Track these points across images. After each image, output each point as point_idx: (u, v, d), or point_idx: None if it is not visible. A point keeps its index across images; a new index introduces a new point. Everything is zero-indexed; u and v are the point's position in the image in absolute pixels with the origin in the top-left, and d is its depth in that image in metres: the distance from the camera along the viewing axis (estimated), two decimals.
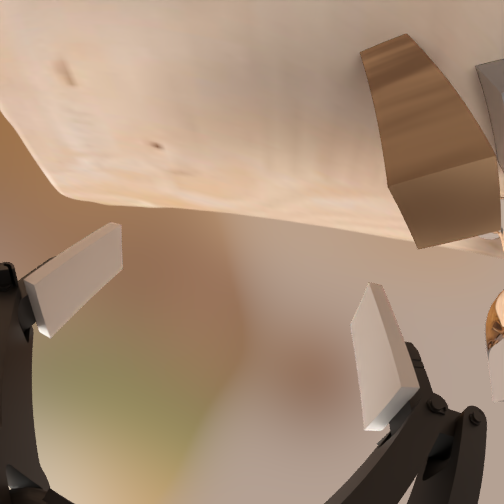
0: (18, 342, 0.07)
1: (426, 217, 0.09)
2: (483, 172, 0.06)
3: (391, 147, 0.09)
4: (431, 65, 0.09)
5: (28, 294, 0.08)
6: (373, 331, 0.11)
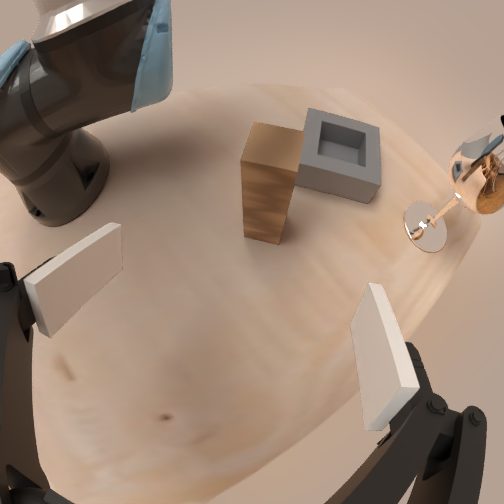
0: (18, 342, 0.07)
1: (271, 156, 0.19)
2: (259, 128, 0.20)
3: None
4: None
5: (28, 294, 0.08)
6: (372, 331, 0.11)
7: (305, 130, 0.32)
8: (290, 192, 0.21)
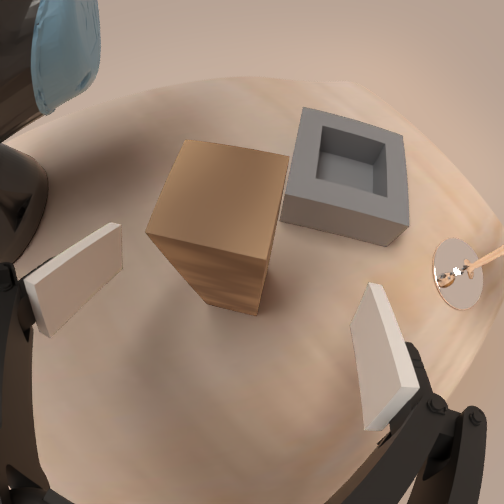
0: (18, 342, 0.07)
1: (209, 221, 0.09)
2: (194, 152, 0.10)
3: None
4: None
5: (28, 294, 0.08)
6: (372, 331, 0.11)
7: (298, 140, 0.22)
8: (259, 281, 0.11)
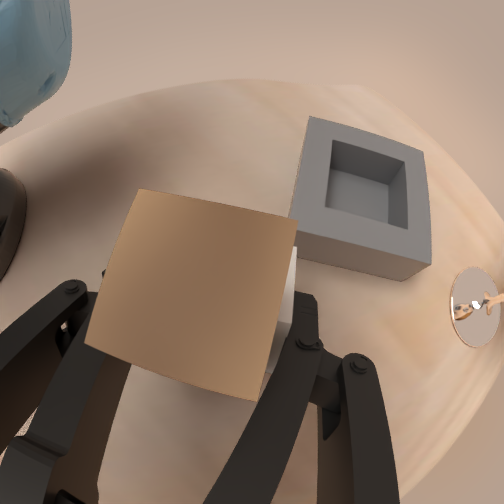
0: None
1: (171, 337, 0.05)
2: (150, 211, 0.06)
3: None
4: None
5: None
6: None
7: (303, 158, 0.18)
8: None
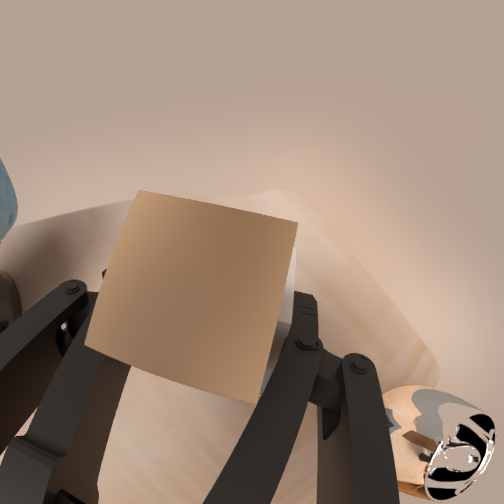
0: None
1: (171, 339, 0.05)
2: (149, 213, 0.06)
3: None
4: None
5: None
6: None
7: None
8: None
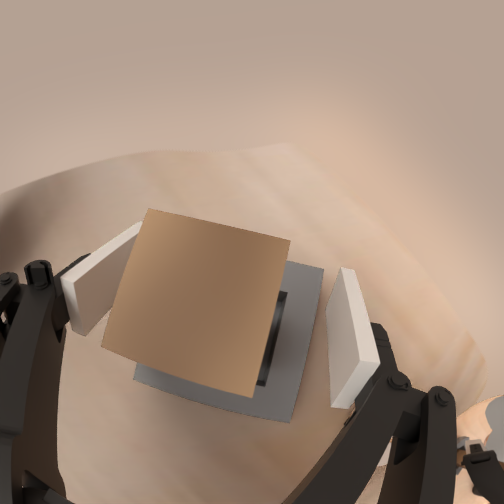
0: (49, 343, 0.07)
1: (178, 341, 0.06)
2: (159, 230, 0.07)
3: None
4: None
5: (64, 292, 0.09)
6: (341, 312, 0.12)
7: None
8: None
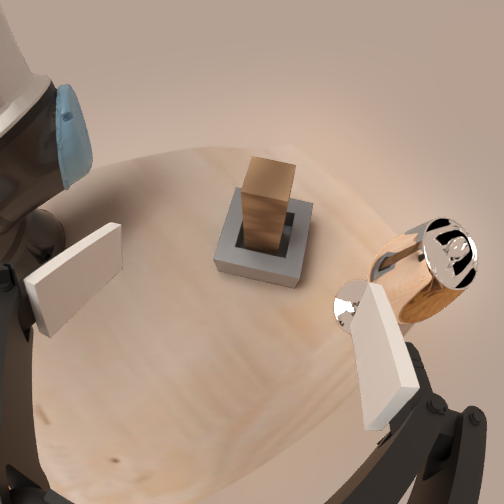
0: (18, 342, 0.07)
1: (266, 188, 0.23)
2: (257, 162, 0.24)
3: None
4: None
5: (28, 294, 0.08)
6: (373, 331, 0.11)
7: (227, 217, 0.34)
8: (283, 217, 0.26)
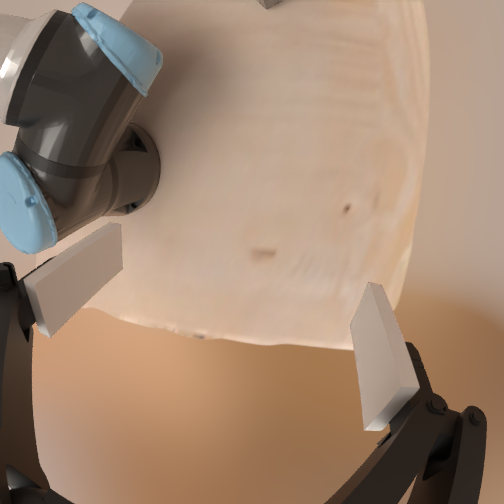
0: (18, 342, 0.07)
1: None
2: None
3: None
4: None
5: (28, 294, 0.08)
6: (373, 331, 0.11)
7: None
8: None
